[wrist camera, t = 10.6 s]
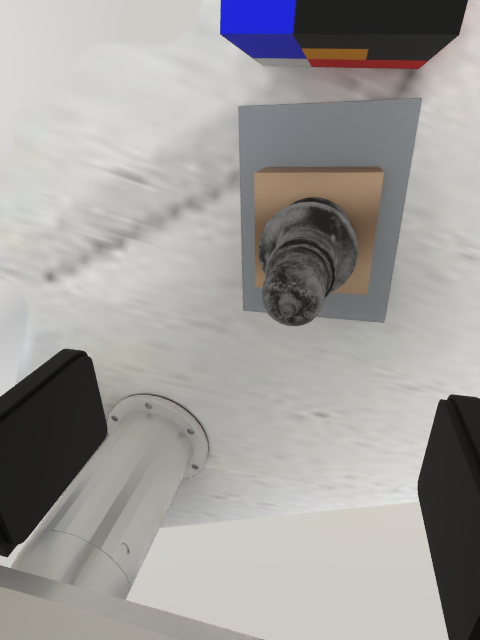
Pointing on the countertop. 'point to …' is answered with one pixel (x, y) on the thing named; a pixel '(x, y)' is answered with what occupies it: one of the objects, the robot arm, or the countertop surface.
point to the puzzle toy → (342, 31)
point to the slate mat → (332, 151)
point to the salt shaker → (305, 258)
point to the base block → (332, 184)
